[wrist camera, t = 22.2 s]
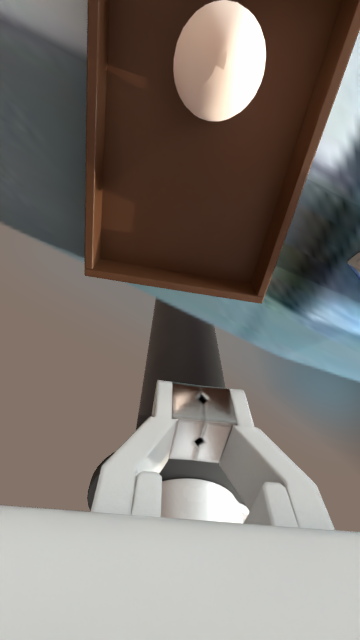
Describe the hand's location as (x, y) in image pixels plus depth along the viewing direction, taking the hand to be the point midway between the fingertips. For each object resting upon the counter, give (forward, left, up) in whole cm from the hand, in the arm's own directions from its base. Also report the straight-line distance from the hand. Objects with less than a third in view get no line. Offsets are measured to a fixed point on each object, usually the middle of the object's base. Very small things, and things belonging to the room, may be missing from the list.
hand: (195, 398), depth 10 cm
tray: (+7, 0, -17) cm, 18 cm away
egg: (+11, 0, -17) cm, 20 cm away
